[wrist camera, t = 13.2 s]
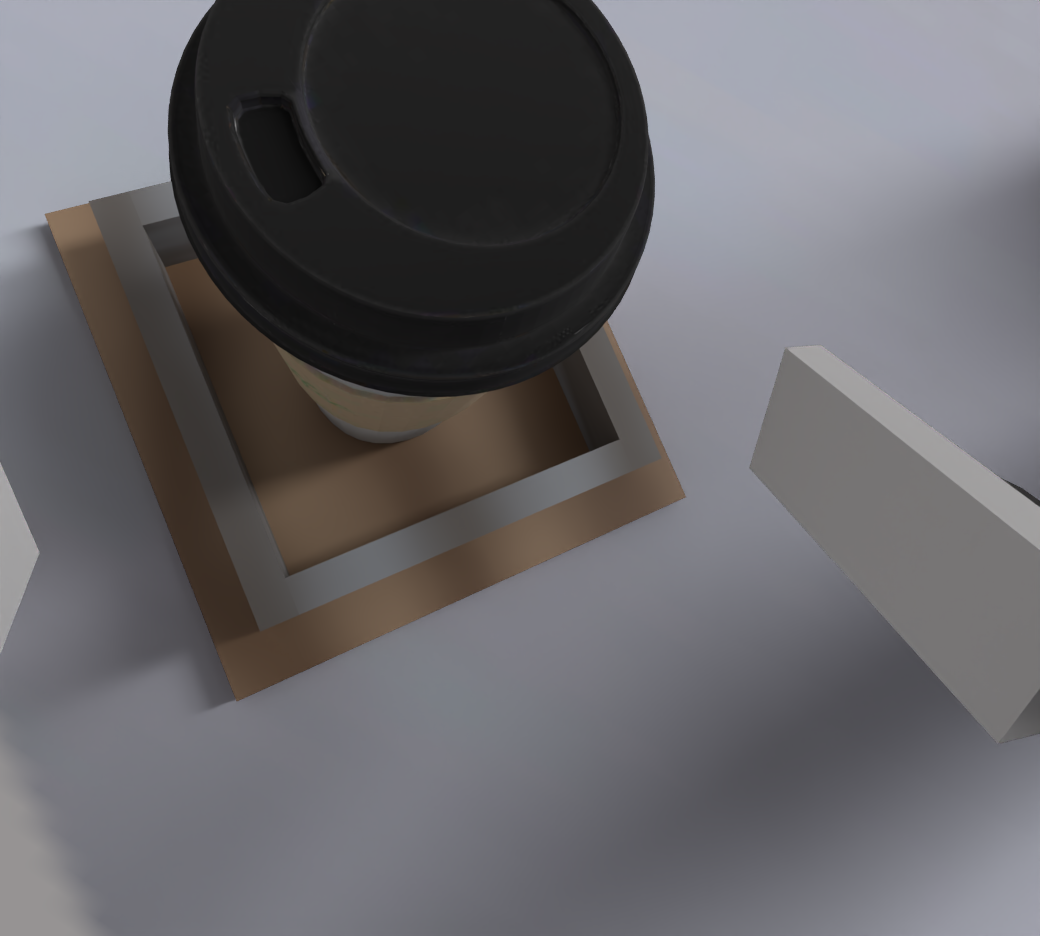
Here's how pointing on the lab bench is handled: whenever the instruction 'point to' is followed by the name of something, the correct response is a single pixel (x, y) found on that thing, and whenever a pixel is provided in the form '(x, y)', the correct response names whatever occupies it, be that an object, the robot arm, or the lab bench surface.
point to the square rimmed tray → (337, 459)
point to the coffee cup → (412, 191)
